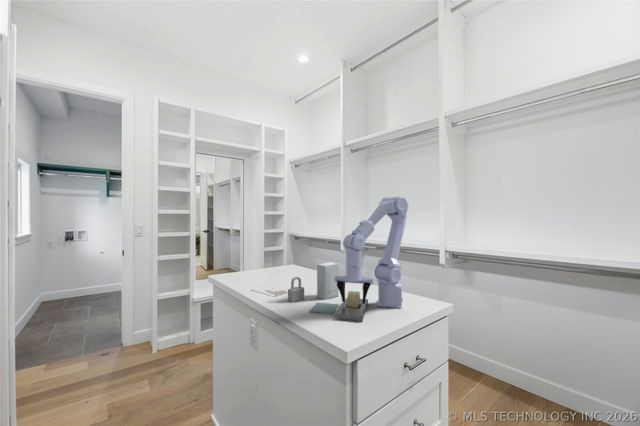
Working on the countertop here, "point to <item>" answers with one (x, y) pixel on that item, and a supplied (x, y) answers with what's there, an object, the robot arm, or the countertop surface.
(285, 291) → the grooming comb
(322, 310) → the rubber mat
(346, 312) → the grey slotted base plate
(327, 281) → the skincare box
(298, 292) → the padlock
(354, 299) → the tan rectangular block
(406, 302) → the countertop surface
